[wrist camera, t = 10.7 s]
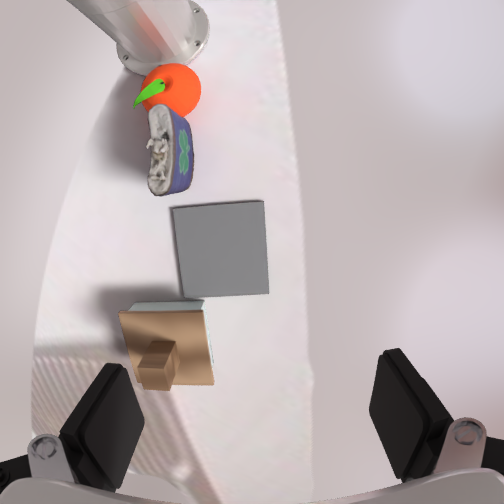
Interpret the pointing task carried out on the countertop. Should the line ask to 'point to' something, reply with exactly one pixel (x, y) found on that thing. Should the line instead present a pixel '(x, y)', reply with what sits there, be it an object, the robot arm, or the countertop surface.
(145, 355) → the lid
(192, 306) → the dish
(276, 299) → the countertop surface
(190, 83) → the clementine
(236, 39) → the countertop surface
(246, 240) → the mat
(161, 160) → the flask
